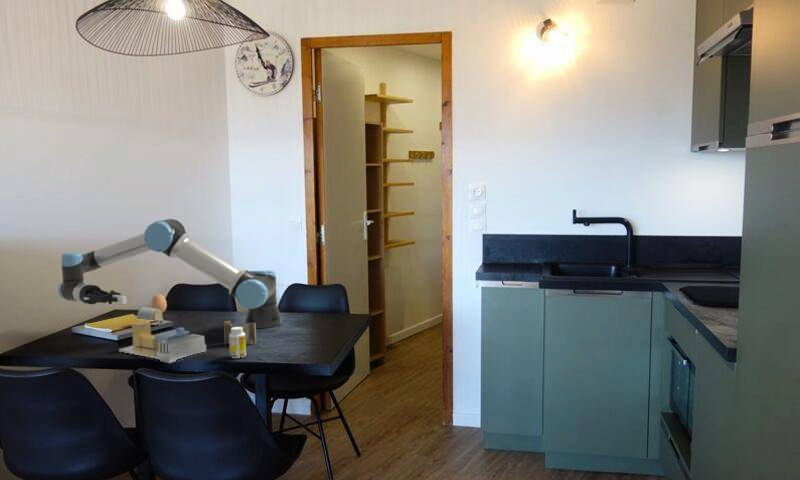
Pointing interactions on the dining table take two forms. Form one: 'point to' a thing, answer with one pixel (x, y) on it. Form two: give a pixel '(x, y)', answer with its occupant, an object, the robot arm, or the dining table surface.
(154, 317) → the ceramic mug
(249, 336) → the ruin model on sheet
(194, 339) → the grey building model
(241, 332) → the supplement bottle
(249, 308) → the robot arm
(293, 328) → the dining table surface
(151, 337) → the beige wooden block
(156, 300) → the egg
